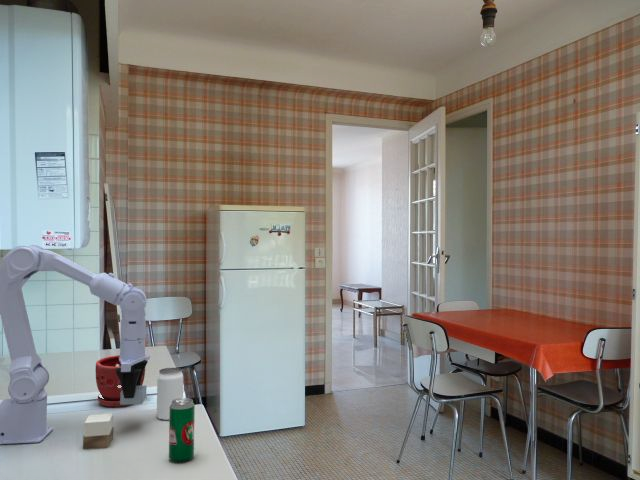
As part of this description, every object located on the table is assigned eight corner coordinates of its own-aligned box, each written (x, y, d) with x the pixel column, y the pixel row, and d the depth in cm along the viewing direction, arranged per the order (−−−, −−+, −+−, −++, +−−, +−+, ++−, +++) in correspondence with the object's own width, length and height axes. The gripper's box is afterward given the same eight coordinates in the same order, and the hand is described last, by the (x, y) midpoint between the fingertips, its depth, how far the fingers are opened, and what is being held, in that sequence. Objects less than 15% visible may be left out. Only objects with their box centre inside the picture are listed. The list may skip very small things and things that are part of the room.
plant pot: (84, 406, 135) (84, 362, 135) (120, 392, 147) (121, 352, 147) (120, 412, 130) (121, 367, 130) (154, 398, 142) (155, 357, 142)
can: (175, 421, 124) (175, 374, 124) (151, 419, 125) (152, 372, 125) (187, 413, 130) (187, 367, 130) (164, 411, 131) (165, 366, 131)
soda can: (167, 455, 104) (168, 398, 104) (191, 451, 106) (192, 396, 106) (170, 465, 99) (171, 406, 99) (195, 461, 101) (196, 403, 101)
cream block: (84, 436, 106) (84, 422, 106) (89, 428, 111) (89, 415, 111) (109, 434, 108) (109, 421, 108) (112, 426, 112) (112, 413, 112)
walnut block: (82, 450, 107) (83, 436, 107) (90, 441, 112) (90, 427, 112) (107, 448, 107) (107, 435, 107) (113, 440, 112) (113, 426, 112)
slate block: (120, 404, 116) (120, 391, 116) (125, 398, 121) (125, 385, 121) (142, 404, 117) (142, 391, 117) (146, 397, 122) (146, 385, 122)
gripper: (144, 344, 113) (142, 403, 113) (155, 332, 127) (154, 385, 127) (111, 344, 112) (110, 404, 112) (126, 333, 126) (125, 386, 126)
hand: (131, 394), depth 119 cm, fingers closed on slate block, 5 cm apart
